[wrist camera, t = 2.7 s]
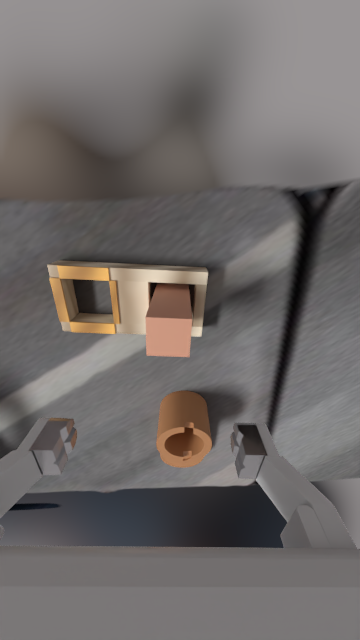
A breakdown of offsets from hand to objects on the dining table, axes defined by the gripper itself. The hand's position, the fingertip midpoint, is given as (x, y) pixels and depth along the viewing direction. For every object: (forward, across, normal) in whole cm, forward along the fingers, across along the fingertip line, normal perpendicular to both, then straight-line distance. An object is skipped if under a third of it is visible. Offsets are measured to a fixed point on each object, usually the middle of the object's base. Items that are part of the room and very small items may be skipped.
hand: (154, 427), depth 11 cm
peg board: (+19, +5, 0) cm, 19 cm away
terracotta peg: (+19, 0, 0) cm, 19 cm away
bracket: (+20, -3, +25) cm, 32 cm away
